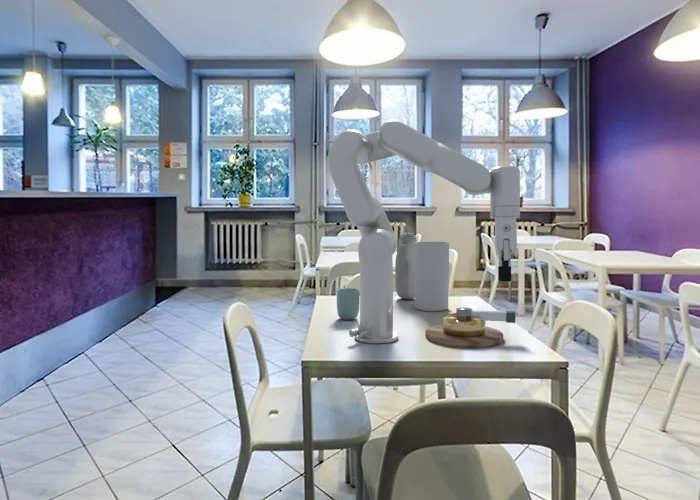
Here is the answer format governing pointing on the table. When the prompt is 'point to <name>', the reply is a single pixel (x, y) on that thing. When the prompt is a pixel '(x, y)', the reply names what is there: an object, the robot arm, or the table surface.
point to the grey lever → (473, 321)
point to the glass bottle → (405, 266)
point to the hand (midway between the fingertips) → (504, 280)
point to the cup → (348, 303)
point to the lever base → (464, 338)
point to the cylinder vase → (431, 275)
